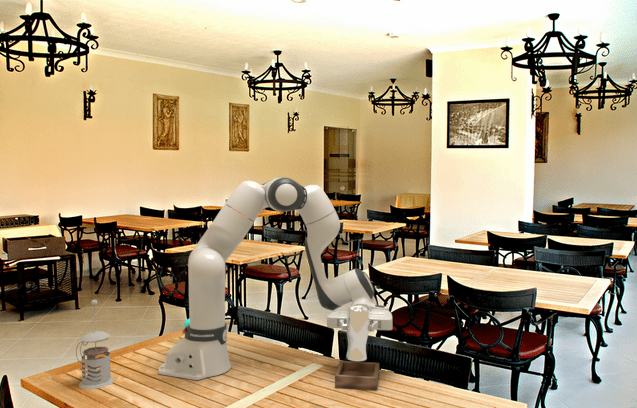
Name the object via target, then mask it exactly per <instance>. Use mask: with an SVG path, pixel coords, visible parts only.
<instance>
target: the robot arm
mask: <svg viewBox="0 0 637 408" xmlns="http://www.w3.org/2000/svg"><path fill="white" fill-rule="evenodd" d="M266 208H269V209H271V210H274V211H276V212H291V211H296V212H298V213H299V215H300V216H301V218H302V220H303V223H304V224H305V227H306V230H307V237H306V239H305V240H304V250H305V253H306V258H307V261H308V265H309V269H310V272H311V276H312V280H313V282H314V286H315V289H316V295H317V300H318V303H319V304H320V306H321V307H322V308H323V309H325V310H329V311H331V312H330V313H329V314H327V316H326V326H327V327H328V328H329V329H341V331H347V329H346V319H347V310H345V311H344V310H337V309H339V308H341V307H342V306H344V305H347V304H349V303H351V305H350V306H365V307H368V308H369V309H370V325H369V332H374V331H376V330H377V331H392V330H393V314H392V312H391V311H390V309H389V307H388V306H387V305H386V306H385V305H380V304H378V303H377V300H376V298H375V289H374V285H373V282H372V280H371V279H370V277H369V275H368V274H367V273H366V272H365V271H364V270H361V269H359V268H354V269H351V270H348V271H347V272H344V273H342V274H340V275H338V276H336V277H333V278H330V279H329V278H327V276H326V272H325V269H324V266H323V261H322V257H321V255H322V253H323V251H324V250H325V249H326V248H327V247H328V246H329V245H330V244H331V243H332V242H333V241H334V240H335V239H336V237H337V236H338V234H339V231H340V230H341V223H340V218H339V215H338V213H337V211H336V209H335V208H334V205H333V203H332V201H331V200H330V198H329V197H328V195H327V194H326V192H325V191H324V190H323V189H322V187H321V186H319V185H317V184H309V185H306V186H302V185H301V184H300V183H298V182H297V181H296V180H294V179H292V178H289V177H285V176H278V177H275V178H272V179H270V180H268V181H267V182H264V183H263V184H260V183H258V182H257V181H253V180H244V181H242V182H241V183H239V185H238V186H237V187H236V188H235V189H234V190H233V191H232V193H231V194H230V195H229V197H227V199H226V201H225V203H224V204H223V205H222V208H221V209H220V210H219V212H218V213H217V215H216V216H215V218H214V219H213V221H212V222H211V224H210V225H209V227H208V228H207V229H206V231H205V232H204V233H203V235H202V236H201V238H200V239H199V241H198V242H197V243H196V245H195V247H194V248H193V249H192V251H191V252H190V254H189V256H188V262H187V265H188V266H187V267H188V270H187V271H188V308H189V309H188V310H189V314H188V315H189V316H188V317H189V318H190V323H189V324H188V326H187V327H185V326H184V328H183V330H182V333H181V334H182V335H183V334H184V337H183V338H181V339H180V340H179V341H177V342H176V343H175V344H174V345H173V346H172V347H170V349H169V350H168V351H167V353H166V354H167V355H166V358H165V362H163V363H162V364H161V365H160V366H159V367H158V374H159V375H163V376H169V377H175V378H180V379H186V380H187V379H188V380H194V381H200V380H203V379H206V378H210V377H216V376H219V375H223V374H225V373H226V372H229V370H231V369H232V364H231V360H230V358H229V353H228V348H227V347H228V346H227V341H228V328H227V327H228V326H227V322H226V305H225V303H226V299H225V298H226V297H225V296H226V263H227V261H228V259H229V258H230V256H232V254H233V253H234V252H235V250H236V249H237V247H239V245H241V244H242V242H243V240H244V238H245V237H246V235H247V234H248V233H249V231H250V229H251V228H252V226H253V225H254V222H255V221H256V220H257V218H258V216H259V214H261V212H262V211H263V210H265V209H266ZM189 318H188V319H189Z"/></svg>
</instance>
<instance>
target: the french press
mask: <svg viewBox="0 0 637 408" xmlns="http://www.w3.org/2000/svg"><path fill="white" fill-rule="evenodd" d="M97 304H98V300H97V299H92V300H91V302H90V305H93V308H94V311H93V312H94V313H93V314H94V315H93V317H94V321H96V305H97ZM96 326H97V325H94V331H91V332H88V333H85V334H84V335H83V336H82V337H80V339H79V340H80V342H78V344H77V345H76V348H75V356H76V360H77V362H78V363H79V364H80V365H81V377H82V379H81V381H80V382H79V384H78V386H79V388H81V389H83V390H94V389H101V388H104V387H106V386H107V387H108V386H110V385H111V384H113V383H114V382H115V378H114V377H113V376H112V375H111V373H112V372H111V353H110V352H109V350H110V348H109V347H108V346H97V343H100V342H103V341H106V340H109V338H110V337H111V334H109V333H107V332H105V331H102V330H96ZM84 343H85V344H84ZM88 343H89V344H93V343H94V346H93V347H88V348H85V349H84V350H83V351H82V346H84V347H85V346H87V345H88ZM79 345H80V347H79ZM78 347H79V354H80V356H81V362H80V360H79V358H78ZM82 354H83V355H82ZM101 355H104V356H101Z"/></svg>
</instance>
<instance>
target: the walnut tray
mask: <svg viewBox="0 0 637 408" xmlns="http://www.w3.org/2000/svg"><path fill="white" fill-rule="evenodd" d="M379 378H380V363H379V362H369V361H360V362H357V361H351V360H349V361H348V360H340V361H339V365H338V367H337V369H336V372H335V375H334V388H335V389H348V390H365V391H376V392H377V391H378V387H379V386H378V385H379Z"/></svg>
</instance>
